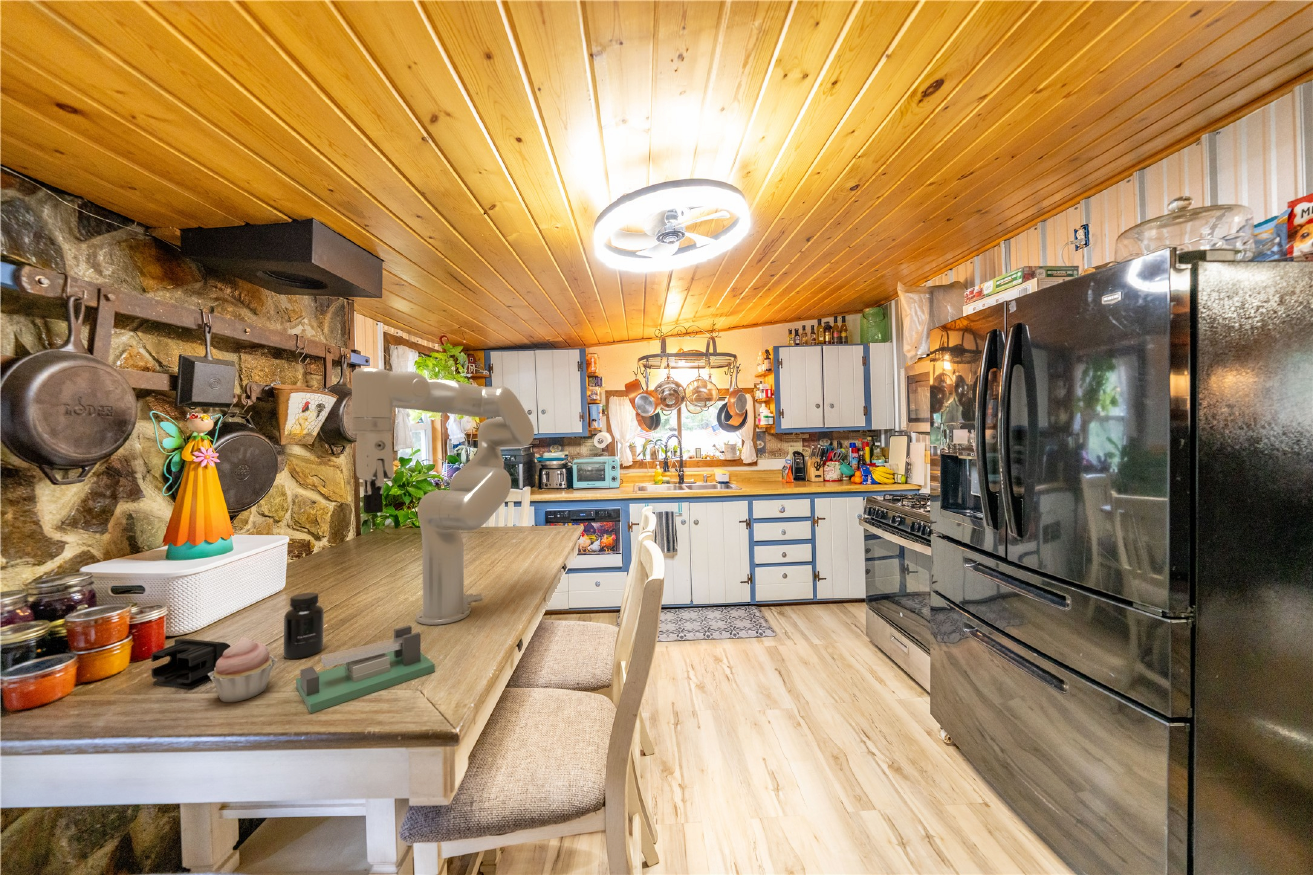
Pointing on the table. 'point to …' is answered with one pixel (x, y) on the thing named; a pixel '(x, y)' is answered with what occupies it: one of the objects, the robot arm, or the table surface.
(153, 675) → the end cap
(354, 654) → the grey long bar
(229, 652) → the cupcake
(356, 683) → the board
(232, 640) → the table surface
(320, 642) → the supplement bottle
